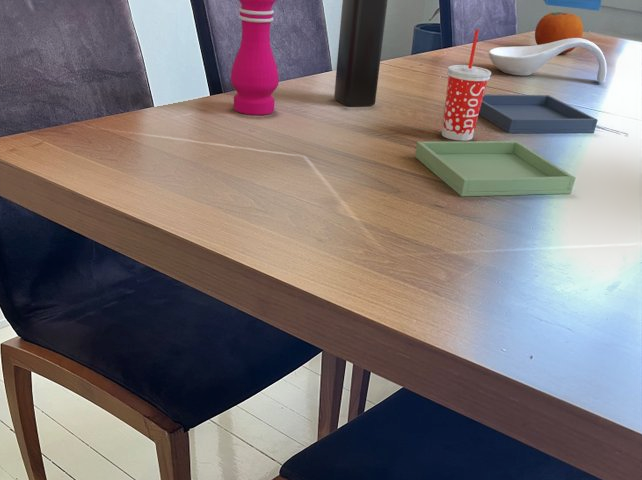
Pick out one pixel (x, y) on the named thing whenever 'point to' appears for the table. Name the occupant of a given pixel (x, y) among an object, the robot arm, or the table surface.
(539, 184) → the sage tray
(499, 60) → the white ladle
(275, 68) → the pepper mill
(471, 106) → the beverage cup
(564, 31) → the fruit
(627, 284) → the table surface
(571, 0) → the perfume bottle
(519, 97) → the slate tray
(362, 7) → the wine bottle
